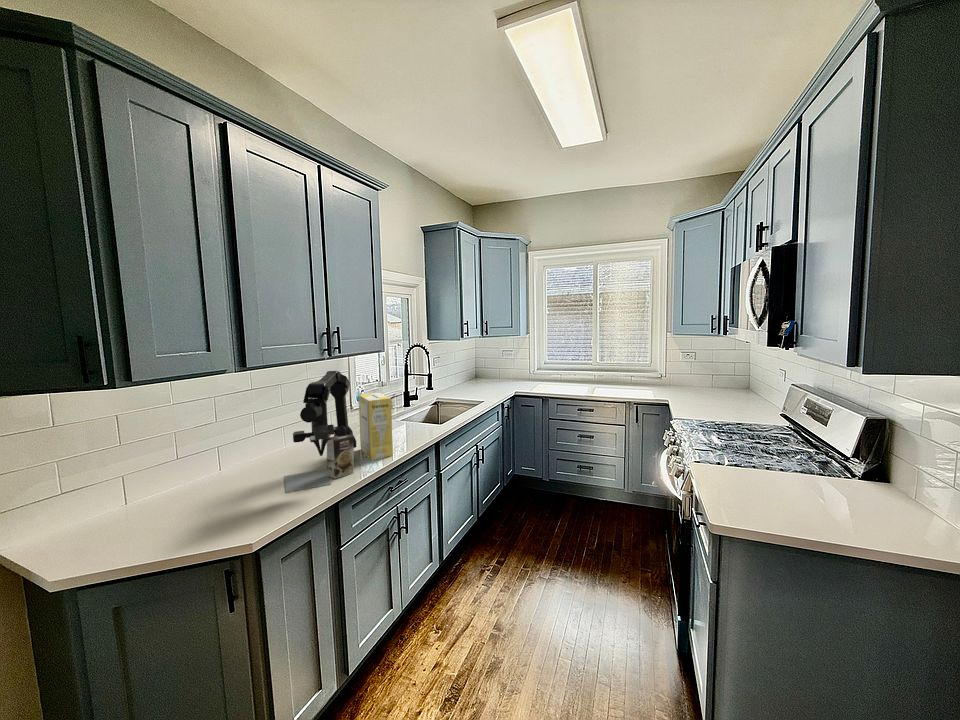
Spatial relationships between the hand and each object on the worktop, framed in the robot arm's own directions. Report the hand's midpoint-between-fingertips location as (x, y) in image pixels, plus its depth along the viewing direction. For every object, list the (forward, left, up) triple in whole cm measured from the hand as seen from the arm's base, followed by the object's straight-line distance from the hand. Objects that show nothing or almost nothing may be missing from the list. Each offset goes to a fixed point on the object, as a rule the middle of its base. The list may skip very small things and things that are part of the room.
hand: (321, 455), depth 153 cm
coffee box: (-11, +8, -13) cm, 19 cm away
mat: (-11, -5, -13) cm, 18 cm away
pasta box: (-32, +28, -13) cm, 45 cm away
